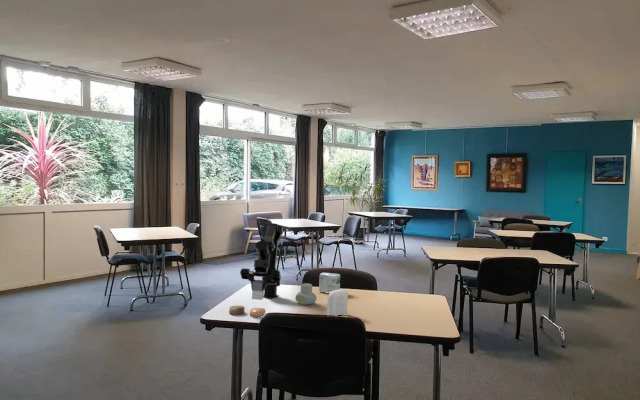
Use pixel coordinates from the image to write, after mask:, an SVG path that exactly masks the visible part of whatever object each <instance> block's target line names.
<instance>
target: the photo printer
mask: <svg viewBox="0 0 640 400" xmlns="http://www.w3.org/2000/svg"><path fill="white" fill-rule="evenodd" d="M348 298H349V293H348V291H347V290H345V289H341V288H340V289H339V290H334V291H331V292H330V293H329V294H327V310H326V314H329V315H342V316H345V315H344V314H347V315H348V303H349V301H348V300H349V299H348Z"/></svg>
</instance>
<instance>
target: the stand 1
mask: <svg viewBox="0 0 640 400" xmlns="http://www.w3.org/2000/svg"><path fill="white" fill-rule="evenodd" d="M245 309H246V308H245V306H244V305H237V304H236V305H231V306H229V313H228V314H229V315H232V316H241V315H244V314H245V311H246V310H245Z"/></svg>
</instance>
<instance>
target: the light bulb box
mask: <svg viewBox="0 0 640 400" xmlns="http://www.w3.org/2000/svg"><path fill="white" fill-rule="evenodd" d="M318 277H319V281H318V285H319V286H318V292H319V291H320V292H331V291H334V290H339V289H341V274H339V273H331V272H321V273H320V274H319V276H318Z"/></svg>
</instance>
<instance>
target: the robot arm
mask: <svg viewBox="0 0 640 400" xmlns="http://www.w3.org/2000/svg"><path fill="white" fill-rule="evenodd" d="M266 227H267V228H266V233H265V236H264V237H262V238H260V240H258V241H257V242H256V244H255V249H256V252H257V253H256V254H257V256H258V257H257V259H254V261H253V262H254V263H253V267H254V268H253V270H250V268H246V267H245V268H244V267H243V268H241V269H240V272H239V274H240V278H241V279H242V280H247V281H249V282H250V286H251V288H252V285H253V281H254V280H256V279H255V277H261V278H262V279H261V280H264V284H263V288H262V291H264V297H263V298H268V299H275V298H277V297H280V295H278V293H277V291H278V290H277V289H278V287H280V286H281V278H282V276H281V271H280V270H278V269H276V267H277V257H278V246H279V242H280V241H281V240H282V237H283V234H284V228H283V227H284V226H282V225H279V224H278V223H268V225H267V226H266Z"/></svg>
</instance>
